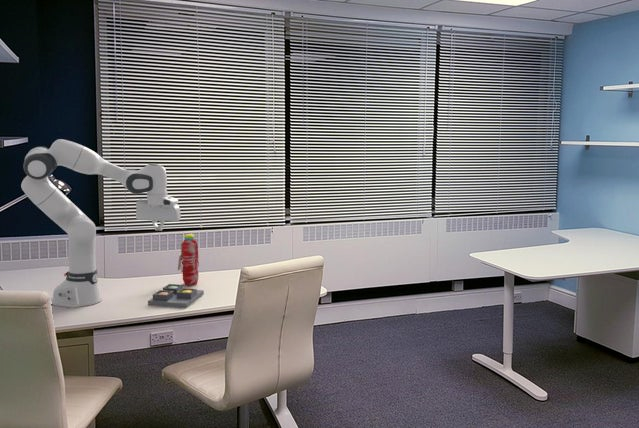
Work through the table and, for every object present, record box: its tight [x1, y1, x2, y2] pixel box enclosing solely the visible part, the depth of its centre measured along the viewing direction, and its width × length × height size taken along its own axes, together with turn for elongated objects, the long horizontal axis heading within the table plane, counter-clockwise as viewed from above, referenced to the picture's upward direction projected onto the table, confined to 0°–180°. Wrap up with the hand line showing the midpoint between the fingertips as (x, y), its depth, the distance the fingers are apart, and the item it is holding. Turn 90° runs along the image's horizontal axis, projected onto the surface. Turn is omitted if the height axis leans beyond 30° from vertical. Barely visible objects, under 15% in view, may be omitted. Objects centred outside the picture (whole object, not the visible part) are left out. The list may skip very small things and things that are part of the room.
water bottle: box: [177, 233, 200, 286], centre depth 291 cm, size 12×8×25 cm, turn 72°
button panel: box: [147, 283, 205, 309], centre depth 268 cm, size 18×20×4 cm
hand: (158, 230), depth 267 cm, fingers closed
